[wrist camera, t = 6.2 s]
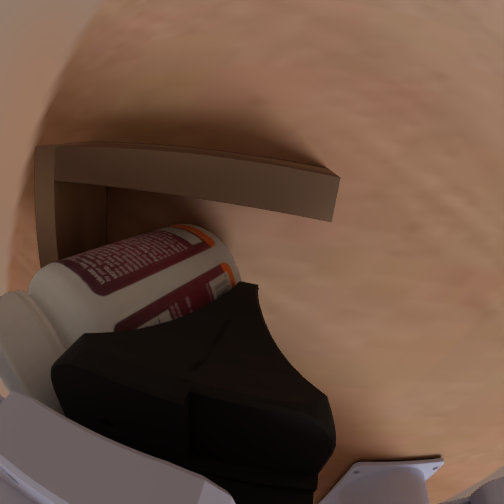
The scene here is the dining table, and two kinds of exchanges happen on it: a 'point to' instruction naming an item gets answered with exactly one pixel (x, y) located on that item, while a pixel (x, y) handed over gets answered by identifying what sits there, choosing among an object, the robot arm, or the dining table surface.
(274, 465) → the robot arm
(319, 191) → the brown u-shaped block
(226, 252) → the pill bottle
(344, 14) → the dining table surface
